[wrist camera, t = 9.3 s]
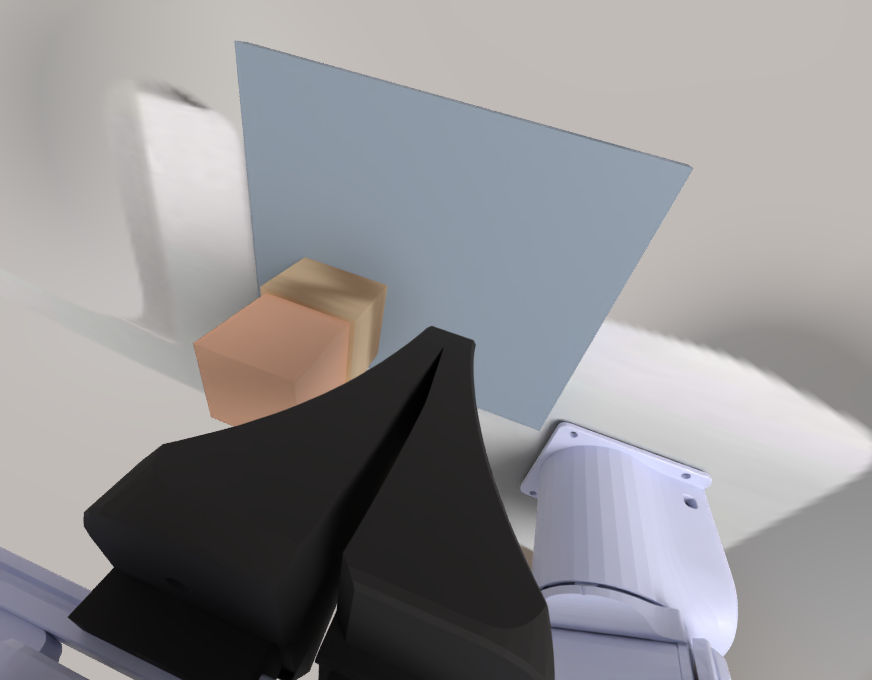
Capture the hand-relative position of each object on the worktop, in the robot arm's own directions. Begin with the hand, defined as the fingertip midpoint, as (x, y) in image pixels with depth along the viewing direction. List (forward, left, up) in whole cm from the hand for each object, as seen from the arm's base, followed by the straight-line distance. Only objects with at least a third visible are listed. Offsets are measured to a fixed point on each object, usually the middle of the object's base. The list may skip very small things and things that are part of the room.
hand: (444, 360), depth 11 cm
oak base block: (+8, +7, -10) cm, 14 cm away
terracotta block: (+8, +7, -6) cm, 12 cm away
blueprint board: (+4, +3, -10) cm, 11 cm away
